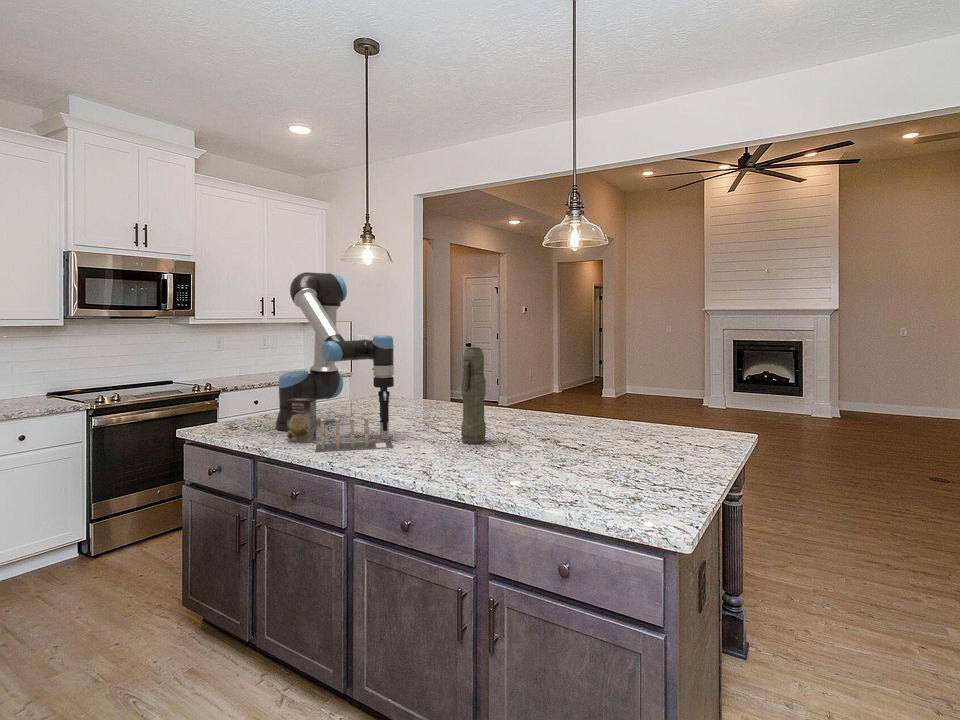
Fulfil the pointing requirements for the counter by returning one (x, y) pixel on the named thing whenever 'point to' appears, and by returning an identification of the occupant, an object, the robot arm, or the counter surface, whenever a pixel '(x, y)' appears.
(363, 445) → the mat
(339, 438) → the domino
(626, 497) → the counter surface
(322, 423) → the domino
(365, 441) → the domino
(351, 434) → the domino
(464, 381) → the thermos
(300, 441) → the coffee box
